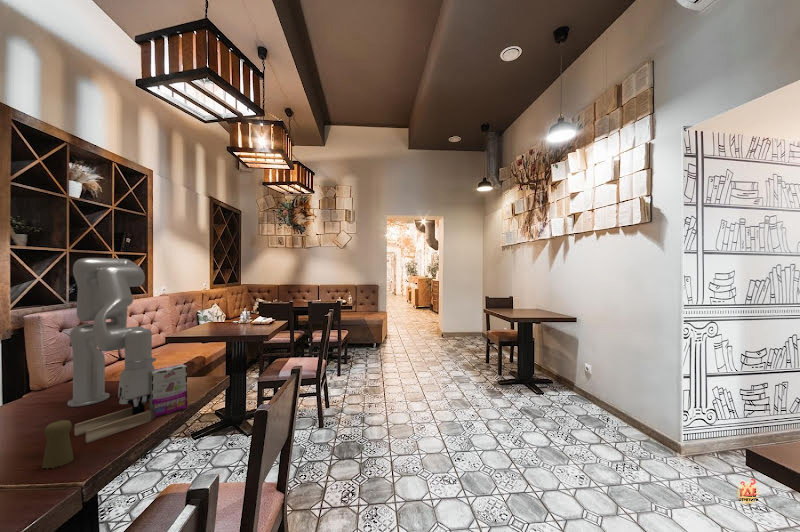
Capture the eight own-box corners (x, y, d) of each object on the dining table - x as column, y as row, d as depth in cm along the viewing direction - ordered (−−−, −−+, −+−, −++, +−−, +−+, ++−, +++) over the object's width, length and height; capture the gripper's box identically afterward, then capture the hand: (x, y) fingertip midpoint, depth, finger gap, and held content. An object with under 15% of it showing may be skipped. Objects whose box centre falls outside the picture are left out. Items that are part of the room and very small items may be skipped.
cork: (56, 457, 92) (57, 418, 93) (79, 455, 93) (80, 416, 93) (34, 470, 86) (35, 428, 87) (59, 468, 87) (59, 426, 87)
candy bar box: (183, 405, 128) (183, 363, 128) (187, 408, 125) (187, 365, 125) (148, 414, 119) (148, 370, 120) (151, 418, 116) (151, 372, 116)
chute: (74, 435, 105) (74, 419, 105) (140, 413, 121) (140, 399, 121) (87, 443, 100) (87, 426, 100) (154, 419, 116) (154, 404, 116)
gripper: (157, 358, 125) (157, 406, 124) (107, 368, 112) (107, 422, 111) (167, 360, 121) (167, 410, 120) (116, 371, 108) (116, 427, 107)
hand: (138, 416), depth 116 cm, fingers closed
